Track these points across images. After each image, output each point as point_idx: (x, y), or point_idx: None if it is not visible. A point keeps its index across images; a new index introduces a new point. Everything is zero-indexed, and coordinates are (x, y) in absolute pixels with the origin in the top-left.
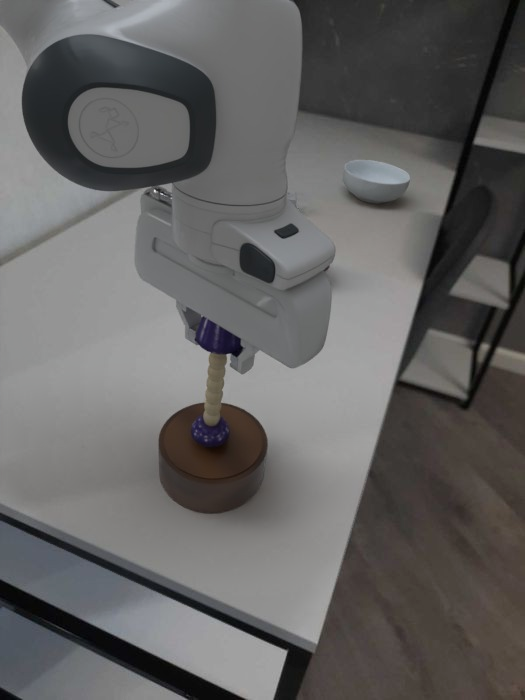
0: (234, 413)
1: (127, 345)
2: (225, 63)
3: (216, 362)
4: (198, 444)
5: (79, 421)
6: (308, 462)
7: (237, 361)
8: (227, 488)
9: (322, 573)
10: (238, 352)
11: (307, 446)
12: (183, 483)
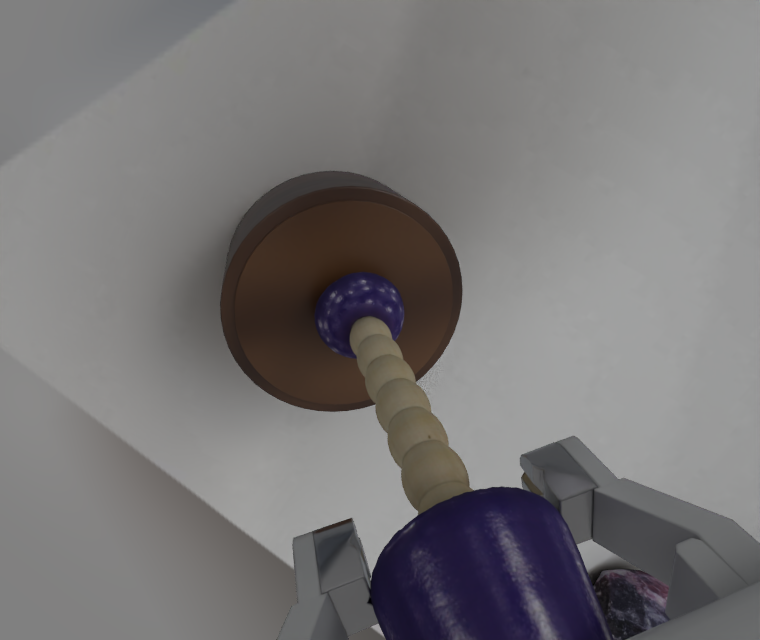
0: None
1: (681, 275)
2: None
3: (417, 473)
4: None
5: (586, 97)
6: (257, 430)
7: (320, 576)
8: (224, 276)
9: (17, 339)
10: (356, 601)
11: (289, 444)
12: (284, 198)
